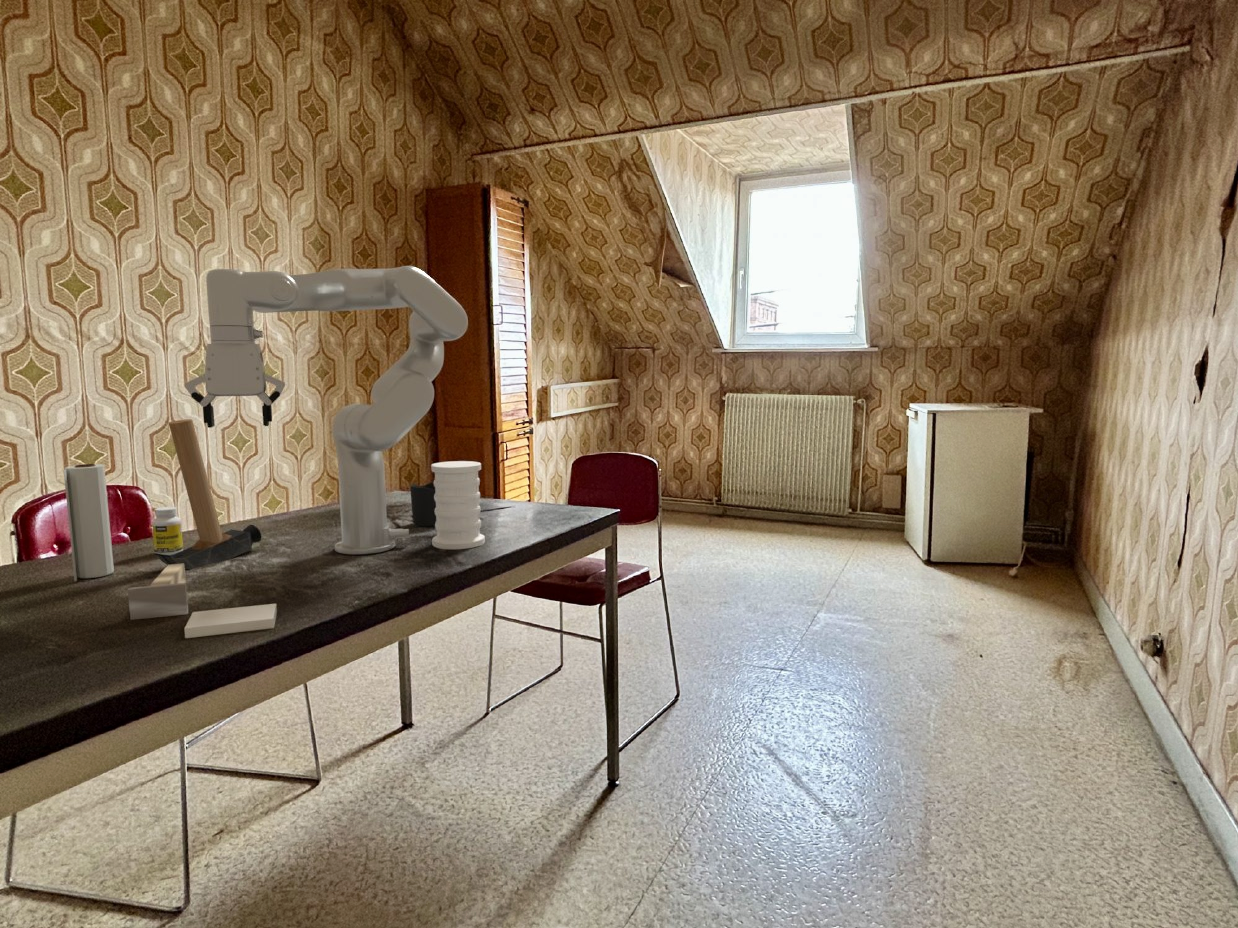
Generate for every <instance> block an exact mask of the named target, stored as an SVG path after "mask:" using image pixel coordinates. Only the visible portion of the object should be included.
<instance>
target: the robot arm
mask: <svg viewBox="0 0 1238 928" xmlns="http://www.w3.org/2000/svg"><path fill="white" fill-rule="evenodd" d="M206 292H207V293H206V294H207V305H208V308H207V309H208V319H209V322H208V323H209V333H210V343H207V345H206V351H205V359H204V360H205V362H204V363H205V364H204V366H205V367H204V374H202V375H200V376H198V377H195V378H193V379H192V380H189V381H187V382H185V383H184V387H185V389H186V391H188V394H189V395H190V396H191V399H193V400H194V401H196V402H197V403H198V404H199V405H200V406H201V407H202V414H203V415H202V416H203V423H204V424H207V428H209V429H210V428H213V427H215V412H214V410H215V409H214V406H213V405H212V402H213V401H214V400H215V399H216V397H251V396H252V397H253V396H257V398H259V400H261V402H263V404H262V406H261V409H262V410H261V411H262V424H263V425H262V426H264V427H268V426H270V422H273V412H272V410H273V409H272V405H273V403H274V402H275V401H277V399H278V398H280V397H281V394H282V392H283V391H284V389H285V387H286V382H285V381H283V380H281V379H279V378H276V377H274V376H272V375H270V374H267V373H266V370H265V363H264V362H265V361H264V357H263V356H264V355H263V351H262V348H261V345H260V344H259V343H256V340H258V339H259V338H263V337H264V333H263V330H258V329H256V328H255V323H254V312H257V313H260V314H269V313H271V314H272V313H289V312H314V311H315V312H318V311H319V312H320V311H321V312H341V311H342V312H343V311H344V312H345V311H346V312H347V311H349V312H350V311H363V310H364V311H365V310H388V309H390V310H391V309H392V310H393V309H402V308H410V309H411V310H412V312H411V314H410V316H409V320H408V321H409V322H408V328H409V335H410V341H409V346H408V347H407V348H408V349H407V350H406V351H405V352H404V354H403V355H401V357H400V358H399V359H398V360H397V361H396V362H395V363H393V364H392V365H391V366H390V367H389V368H388V369H387V370H386V371H385V372H384V373H383V374H381V376H380V377H379V378H377V380H376V381H375V382H374V384H373V386H372V388H371V392H370V395H371V397H370V398H371V400H372V402H373V403H372V404H367V403H351V404H347V405H345V406H343V407H342V408H341V409H339V410H338V411H337V412H336V414H335V416H334V419H333V422H332V425H331V426H332V428H331V429H332V438H333V442H334V447H335V451H336V452H335V453H336V457H337V458H336V459H337V469H338V488H339V491H338V492H339V493H338V494H339V508H340V510H339V511H340V512H339V513H340V527H341V528H340V529H341V541H338V542H337V543H335V544H334V551H335V552H337V553H338V554H343V555H369V554H370V555H371V554H377V553H383V552H386V551H389V550H392V549H393V548H395V546H396V540H395V539H408V538H409V539H410V530H409V528H405V529H404V528H395V529H394V528H391V527H390V525H389V523H388V518H387V517H388V515H387V496H386V495H387V491H386V471H385V470H386V469H385V461H384V455H383V451H386V450H389V449H391V448H393V447H394V446H396V444H398V443H399V442H400V441H401V440H402V439H403V438H404V437H405V436H406V435H407V434H408V433H409V432H410V431H411V430H412V429H413V428H414V427H415V426H416V425H417V424H418V422H420V420H421V419H422V418H424V416H425V415H426V414H427V413H428V412H429V411H430V410H431V409H430V408H431V407H432V405H433V402H434V398H435V388H434V385H433V383H432V382H433V381H434V380H435V378H436V377H437V376H438V375H439V374H440V372H441V371H442V368H443V366H444V360H445V345H444V342H452V341H455V340H458V339H461V337H462V336H464V334H465V333H466V332H467V330H468V327H469V319H468V315H467V313H466V310H465V309H464V308H463V306H462V305H461V304H460V303H459V302H458V301H457V300H456V298H454V297H453V296H452V295H450V294H449V292H447V290H445V289H444V288H443V287H442V286H441V285H440V284H438V282H436V281H435V279H433V278H432V277H430V275H428V274H427V273H426V272H425V271H423V270H421V269H420V268H418V267H416V266H413V265H402V266H399V267H391V268H335V269H327V270H322V271H318V272H312V273H305V274H304V273H301V274H287V273H285V272H282V271H279V270H278V271H277V270H265V271H245V270H241V269H234V268H233V269H231V268H228V269H227V268H218V269H217V268H215V269H212V270H209V271H208V272H207V274H206ZM267 382H268V383H270V384H272V385H273V386H275V389H274V391H273V393H271V395H268V394H267V393H266V392H267ZM203 383H205V391H206V395H205V396H203V395H202V394H201V393H200V392H199V391H198V390H197V386H199V385H201V384H203Z"/></svg>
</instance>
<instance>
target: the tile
mask: <svg viewBox="0 0 1238 928" xmlns="http://www.w3.org/2000/svg"><path fill="white" fill-rule="evenodd" d="M277 608H278V607H277V603H269V604H267V603H266V604H259V605H251V606H250V605H249V606H240V607H231V608H230V607H229V608H228V607H227V608H220V609H210V610H209V609H208V610H201V611H192V613H191V614H190V615H191V616H190V617H189V619H188V621H187V623H186V625H185V626H184V638H185V639H191V638H198V637H207V636H217V635H225V634H233V633H241V632H243V633H244V632H251V631H252V632H253V631H258V630H268V629H274V628H275V624H276V619H277V613H278V609H277Z"/></svg>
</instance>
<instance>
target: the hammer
mask: <svg viewBox="0 0 1238 928" xmlns="http://www.w3.org/2000/svg"><path fill="white" fill-rule="evenodd" d="M168 426H169V430H170V433H171V437H172V441H173V445H174V448H175V451H176V456H177V460H178V464H179V467H180V471H181V474H182V478H183V483H184V485H185V490H186V493H187V494H186V495H187V498H188V500H189V503H190V507H191V512H192V515H193V519H194V523H195V527H196V530H197V534H198V540H197V541H196V542H195V543H194V545H192V546H191V547H187V548H185V549H183V551H180V552H178V553H176V554H173V555H162V554H157V553H154V552H153V554H154V555H155V557H156V558H158V559H159V560H160V561H161V562H162V563H164V564H166V565H167V566H168V565H171V564H183V563H184V566H185V570H193V569H197V568H201V567H205V566H208V565H212V564H217V563H221V562H224V561H227V560H230V559H233V558H236V557H237V556H240V555H242V554H244V553H246V552H249V551H251V550H252V548H253V544H254V543H259V542H261V540H262V533H261V531H260V529H259V528H258V527H257V526H255V525H254V524H249V525H247V526H246V527H245V528H244V529H243V530H237V529H232V528H231V529H229V530H227V531H224V532H222V529H221V524H220V522H219V521H220V520H219V517H218V514H217V513H218V512H217V509H216V506H215V501H214V498H213V497H214V496H213V494H212V490H211V487H210V486H211V485H210V482H209V479H208V474H207V472H206V467H205V464H204V460H203V455H202V451H201V447H200V445H199V444H200V443H199V441H198V436H197V432H196V428H195V424H194V421H193V419H192V418H186V419H185V418H184V419H179V420H172V421H169V422H168Z"/></svg>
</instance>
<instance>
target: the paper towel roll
mask: <svg viewBox="0 0 1238 928" xmlns="http://www.w3.org/2000/svg"><path fill="white" fill-rule="evenodd" d="M105 469H106V468H105V465H104V464H102V463H101V464H100V463H99V464H97V463H85V464H84V463H83V464H76V465H69V466H65V467H64V468H63V479H64V488H65V499H66V508H67V519H68V520H67V521H68V527H69V536H70V537H69V539H70V548H71V558H72V565H73V566H72V568H73V580H74V582H77V581H78V579H92V578H93V579H94V578H101V577H106V576H109V575H111V574H113V573H114V572H115V567H114V558H113V557H114V555H113V545H112V544H113V543H112V536H111V525H110V513H109V512H110V511H109V503H108V495H107V494H108V493H107V491H108V490H107V483H106V482H107V481H106V472H105Z"/></svg>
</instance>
